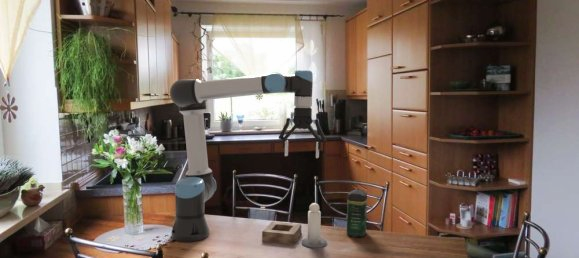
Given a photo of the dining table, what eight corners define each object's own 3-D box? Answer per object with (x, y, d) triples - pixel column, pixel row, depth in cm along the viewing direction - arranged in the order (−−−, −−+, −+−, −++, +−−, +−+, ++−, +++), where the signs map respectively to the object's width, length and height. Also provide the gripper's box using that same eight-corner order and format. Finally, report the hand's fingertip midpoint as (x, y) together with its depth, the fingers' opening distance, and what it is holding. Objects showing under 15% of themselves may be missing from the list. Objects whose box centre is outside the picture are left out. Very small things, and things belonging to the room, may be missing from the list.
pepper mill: (306, 243, 162) (306, 204, 160) (309, 238, 166) (309, 201, 165) (319, 244, 160) (319, 205, 159) (321, 240, 165) (321, 202, 164)
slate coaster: (298, 246, 160) (298, 244, 160) (304, 237, 169) (304, 236, 169) (324, 249, 157) (324, 247, 157) (328, 240, 167) (328, 238, 167)
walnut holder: (262, 241, 165) (262, 231, 165) (272, 230, 178) (272, 221, 177) (293, 244, 162) (293, 234, 162) (301, 233, 174) (301, 224, 174)
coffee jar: (364, 238, 169) (365, 194, 167) (345, 236, 172) (345, 192, 170) (367, 231, 178) (368, 188, 176) (349, 229, 181) (350, 187, 179)
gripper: (333, 107, 175) (331, 157, 177) (277, 105, 181) (276, 153, 183) (330, 108, 168) (329, 159, 170) (272, 106, 174) (271, 156, 176)
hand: (301, 156), depth 177 cm, fingers open, 13 cm apart
